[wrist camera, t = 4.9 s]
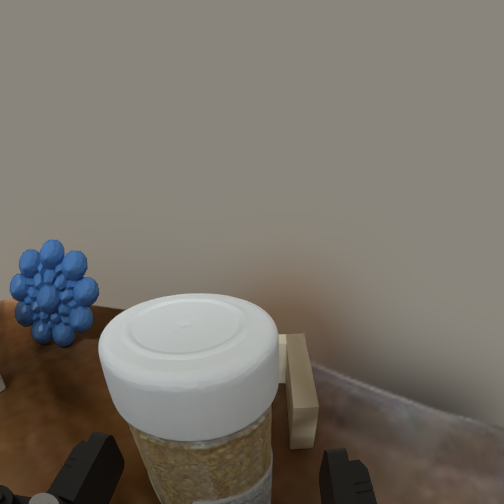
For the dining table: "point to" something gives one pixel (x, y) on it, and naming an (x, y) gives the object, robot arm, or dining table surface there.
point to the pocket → (298, 390)
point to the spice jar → (197, 394)
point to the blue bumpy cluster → (54, 293)
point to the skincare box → (2, 384)
